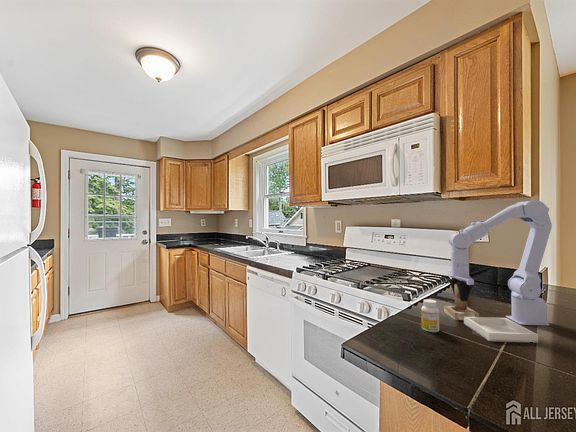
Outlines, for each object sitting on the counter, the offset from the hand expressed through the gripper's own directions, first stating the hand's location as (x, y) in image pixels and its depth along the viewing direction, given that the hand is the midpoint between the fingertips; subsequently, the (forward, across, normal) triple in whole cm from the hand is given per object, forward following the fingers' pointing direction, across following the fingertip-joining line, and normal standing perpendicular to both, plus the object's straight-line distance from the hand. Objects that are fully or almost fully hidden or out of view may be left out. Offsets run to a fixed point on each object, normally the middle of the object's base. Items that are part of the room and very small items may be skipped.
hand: (460, 299), depth 105 cm
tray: (+6, +15, +4) cm, 17 cm away
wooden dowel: (+3, 0, 0) cm, 3 cm away
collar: (+6, 0, 0) cm, 7 cm away
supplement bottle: (+7, +14, -17) cm, 23 cm away
